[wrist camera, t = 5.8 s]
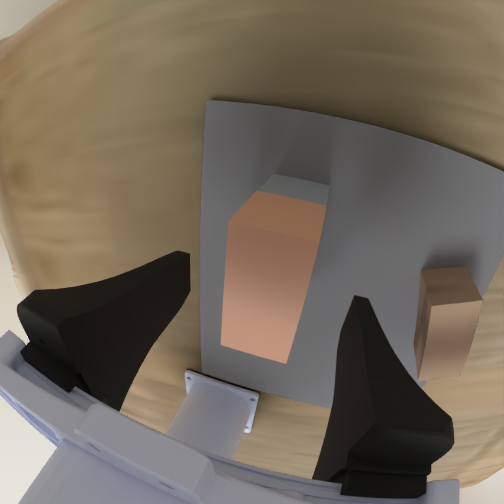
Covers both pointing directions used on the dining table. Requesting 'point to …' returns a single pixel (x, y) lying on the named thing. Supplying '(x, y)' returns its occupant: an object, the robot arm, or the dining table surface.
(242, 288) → the brick terracotta
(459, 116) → the dining table surface
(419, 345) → the brick walnut
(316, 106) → the dining table surface
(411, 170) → the felt mat
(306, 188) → the brick slate
